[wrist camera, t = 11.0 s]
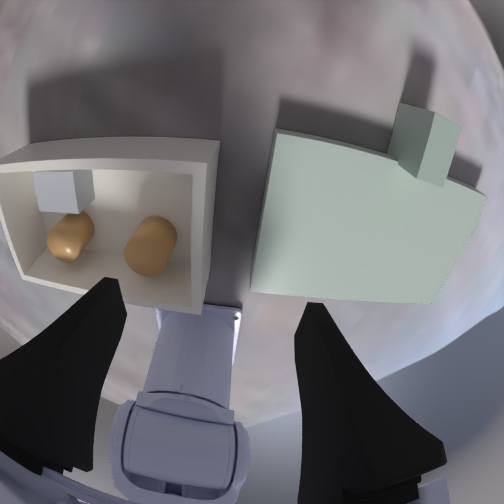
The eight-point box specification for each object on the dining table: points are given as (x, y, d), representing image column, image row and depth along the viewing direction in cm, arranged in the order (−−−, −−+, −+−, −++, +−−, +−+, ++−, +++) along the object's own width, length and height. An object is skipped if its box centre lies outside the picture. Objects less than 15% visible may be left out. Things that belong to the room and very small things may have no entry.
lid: (424, 291, 23) (441, 322, 20) (250, 276, 22) (248, 315, 18) (487, 148, 14) (521, 167, 11) (284, 70, 13) (294, 65, 10)
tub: (210, 267, 21) (201, 315, 17) (50, 245, 20) (22, 279, 16) (220, 140, 16) (206, 163, 12) (30, 143, 15) (-12, 166, 11)
